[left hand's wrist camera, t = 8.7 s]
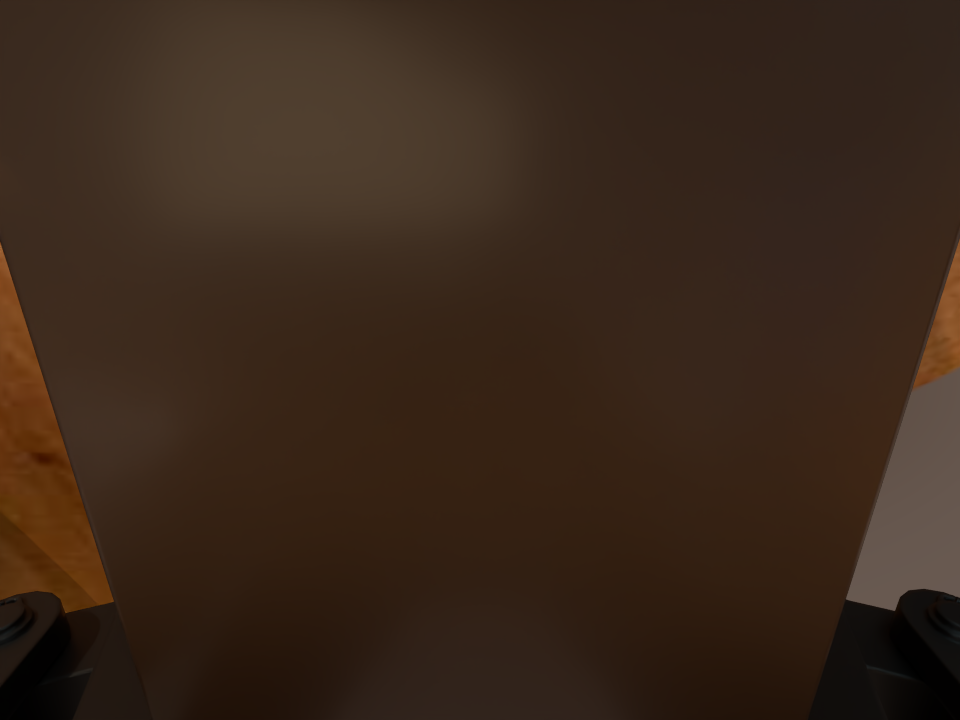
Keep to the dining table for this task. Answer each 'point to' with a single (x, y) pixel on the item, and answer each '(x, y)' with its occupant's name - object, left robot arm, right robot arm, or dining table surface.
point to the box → (479, 336)
